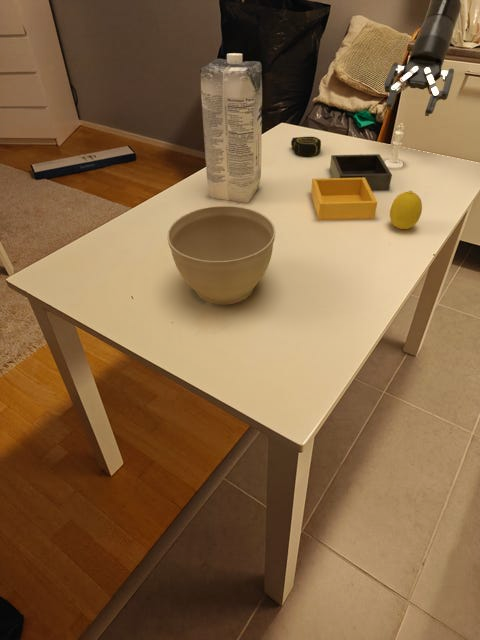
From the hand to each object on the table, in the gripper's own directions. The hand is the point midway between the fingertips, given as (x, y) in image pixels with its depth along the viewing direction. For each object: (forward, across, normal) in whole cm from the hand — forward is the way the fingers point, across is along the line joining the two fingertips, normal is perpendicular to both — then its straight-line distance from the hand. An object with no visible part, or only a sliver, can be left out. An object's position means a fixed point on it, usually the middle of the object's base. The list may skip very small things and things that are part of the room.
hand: (407, 111), depth 106 cm
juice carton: (+33, -26, -17) cm, 45 cm away
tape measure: (+13, -22, +3) cm, 26 cm away
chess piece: (+11, 0, +5) cm, 12 cm away
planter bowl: (+54, -12, -38) cm, 67 cm away
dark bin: (+20, -5, -4) cm, 21 cm away
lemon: (+31, +9, -15) cm, 36 cm away
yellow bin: (+29, -4, -13) cm, 32 cm away
